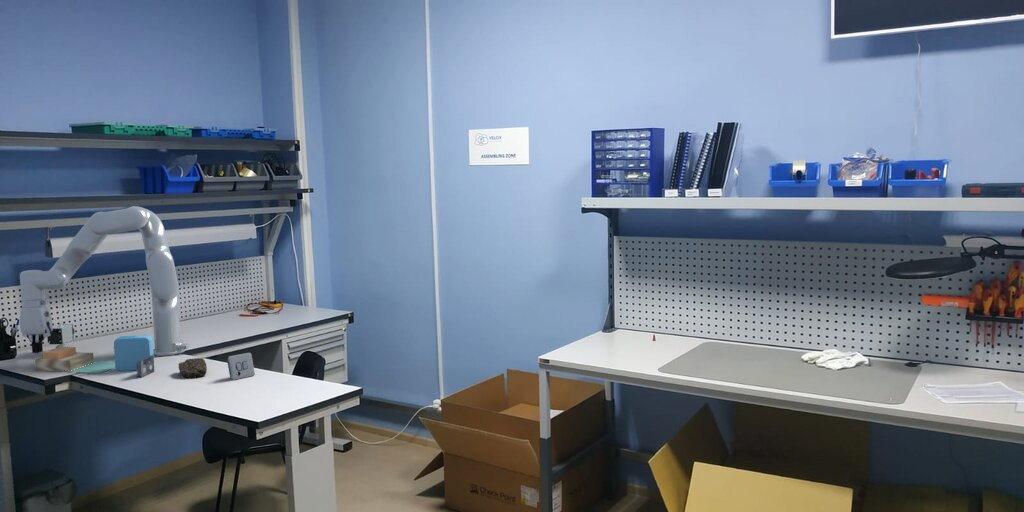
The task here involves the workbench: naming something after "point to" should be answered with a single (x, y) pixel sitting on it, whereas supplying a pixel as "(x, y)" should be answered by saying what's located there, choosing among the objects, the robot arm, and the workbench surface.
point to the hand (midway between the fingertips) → (37, 352)
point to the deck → (65, 362)
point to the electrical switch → (240, 366)
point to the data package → (132, 351)
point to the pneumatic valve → (61, 335)
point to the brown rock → (193, 368)
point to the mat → (95, 367)
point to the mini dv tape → (145, 366)
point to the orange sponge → (59, 352)
